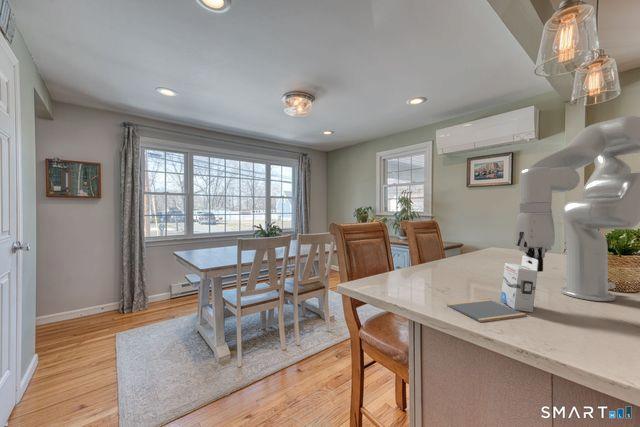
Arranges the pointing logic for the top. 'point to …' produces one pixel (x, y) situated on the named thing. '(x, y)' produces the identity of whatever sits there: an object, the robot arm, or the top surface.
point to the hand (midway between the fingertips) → (535, 270)
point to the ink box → (520, 284)
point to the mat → (485, 310)
